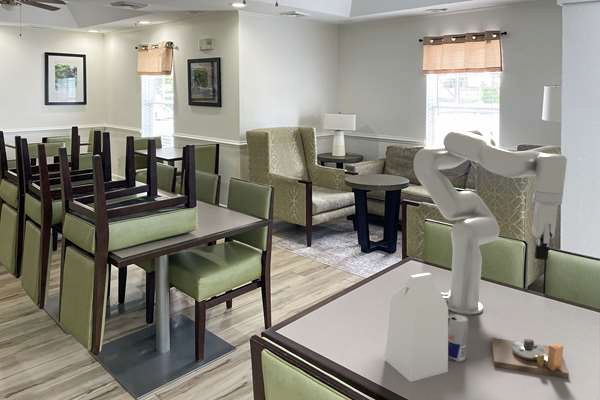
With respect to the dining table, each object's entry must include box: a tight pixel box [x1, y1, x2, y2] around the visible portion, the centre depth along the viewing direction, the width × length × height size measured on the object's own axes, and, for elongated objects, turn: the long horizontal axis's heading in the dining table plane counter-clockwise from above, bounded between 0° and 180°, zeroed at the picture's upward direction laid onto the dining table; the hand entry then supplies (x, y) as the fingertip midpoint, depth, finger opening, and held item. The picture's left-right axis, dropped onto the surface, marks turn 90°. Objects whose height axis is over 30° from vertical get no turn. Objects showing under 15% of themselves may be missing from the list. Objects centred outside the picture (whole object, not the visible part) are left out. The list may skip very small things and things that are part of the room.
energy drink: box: [448, 313, 469, 363], centre depth 134 cm, size 5×5×12 cm
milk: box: [385, 272, 449, 383], centre depth 129 cm, size 12×12×26 cm
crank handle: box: [512, 340, 564, 370], centre depth 131 cm, size 13×8×6 cm, turn 26°
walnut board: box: [490, 337, 570, 379], centre depth 134 cm, size 18×14×6 cm
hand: (541, 258), depth 142 cm, fingers closed
